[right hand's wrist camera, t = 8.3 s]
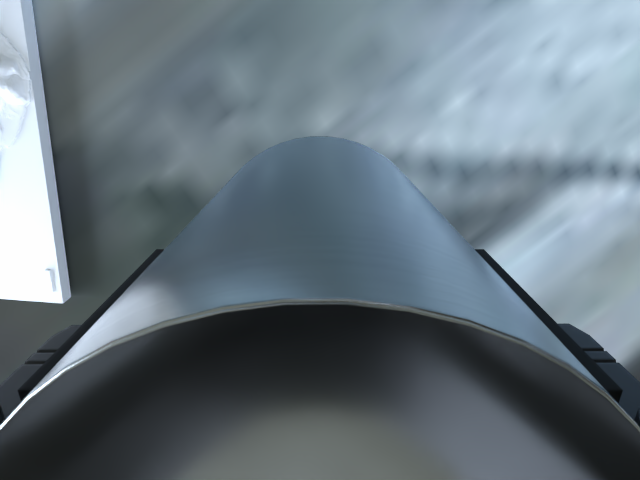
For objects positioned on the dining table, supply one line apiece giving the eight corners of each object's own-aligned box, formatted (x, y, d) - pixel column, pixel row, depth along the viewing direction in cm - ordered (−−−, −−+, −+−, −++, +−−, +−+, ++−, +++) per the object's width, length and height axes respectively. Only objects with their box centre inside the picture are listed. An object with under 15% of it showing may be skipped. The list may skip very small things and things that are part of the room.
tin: (174, 273, 18) (-125, 662, 6) (284, 87, 15) (152, 99, 3) (347, 368, 20) (389, 819, 8) (472, 216, 17) (844, 539, 5)
